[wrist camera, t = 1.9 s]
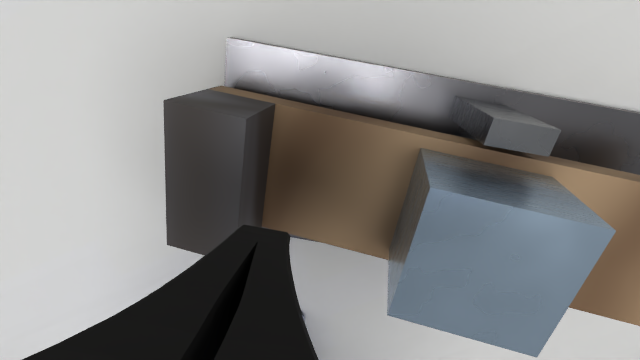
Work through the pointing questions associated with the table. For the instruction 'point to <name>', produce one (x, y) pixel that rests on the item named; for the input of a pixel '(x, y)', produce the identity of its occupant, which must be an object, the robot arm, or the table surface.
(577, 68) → the table surface
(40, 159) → the table surface
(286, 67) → the stand
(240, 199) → the beam
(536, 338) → the block
